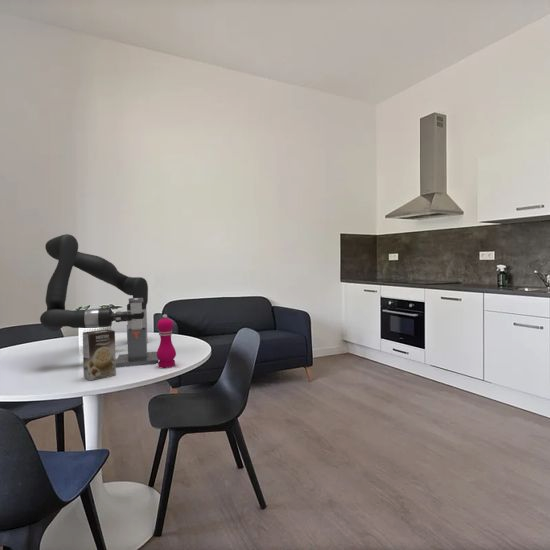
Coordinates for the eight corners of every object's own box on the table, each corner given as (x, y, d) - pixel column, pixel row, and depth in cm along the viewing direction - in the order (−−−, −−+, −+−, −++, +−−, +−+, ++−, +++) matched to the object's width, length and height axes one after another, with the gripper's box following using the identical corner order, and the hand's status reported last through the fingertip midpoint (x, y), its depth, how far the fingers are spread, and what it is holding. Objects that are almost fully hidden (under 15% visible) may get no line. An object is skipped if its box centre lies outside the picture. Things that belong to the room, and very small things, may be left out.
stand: (114, 367, 152) (113, 333, 152) (119, 358, 167) (118, 327, 167) (158, 363, 156) (157, 330, 156) (158, 354, 172) (157, 325, 171)
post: (130, 357, 158) (127, 299, 158) (131, 354, 164) (129, 298, 163) (144, 356, 160) (142, 298, 159) (145, 353, 165) (143, 297, 164)
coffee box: (90, 381, 135) (88, 334, 134) (83, 377, 139) (81, 332, 139) (116, 375, 141) (115, 330, 141) (109, 372, 146) (107, 328, 145)
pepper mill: (159, 369, 148) (157, 316, 147) (155, 365, 154) (153, 314, 154) (178, 366, 151) (176, 314, 150) (173, 362, 157) (172, 312, 157)
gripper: (95, 310, 150) (142, 307, 155) (100, 306, 164) (144, 304, 169) (95, 330, 151) (143, 326, 155) (101, 324, 164) (144, 322, 169)
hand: (143, 315), depth 162 cm, fingers closed on post, 4 cm apart
